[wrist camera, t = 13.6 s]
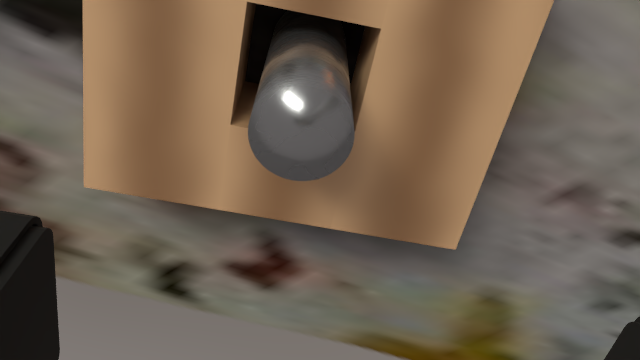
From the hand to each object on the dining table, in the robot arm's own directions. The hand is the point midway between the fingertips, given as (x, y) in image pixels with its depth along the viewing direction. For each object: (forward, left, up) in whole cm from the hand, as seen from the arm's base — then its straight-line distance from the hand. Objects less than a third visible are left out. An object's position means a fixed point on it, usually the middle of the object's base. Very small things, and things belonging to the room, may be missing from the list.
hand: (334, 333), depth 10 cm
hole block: (+1, +3, -25) cm, 25 cm away
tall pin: (+1, +3, -25) cm, 25 cm away
